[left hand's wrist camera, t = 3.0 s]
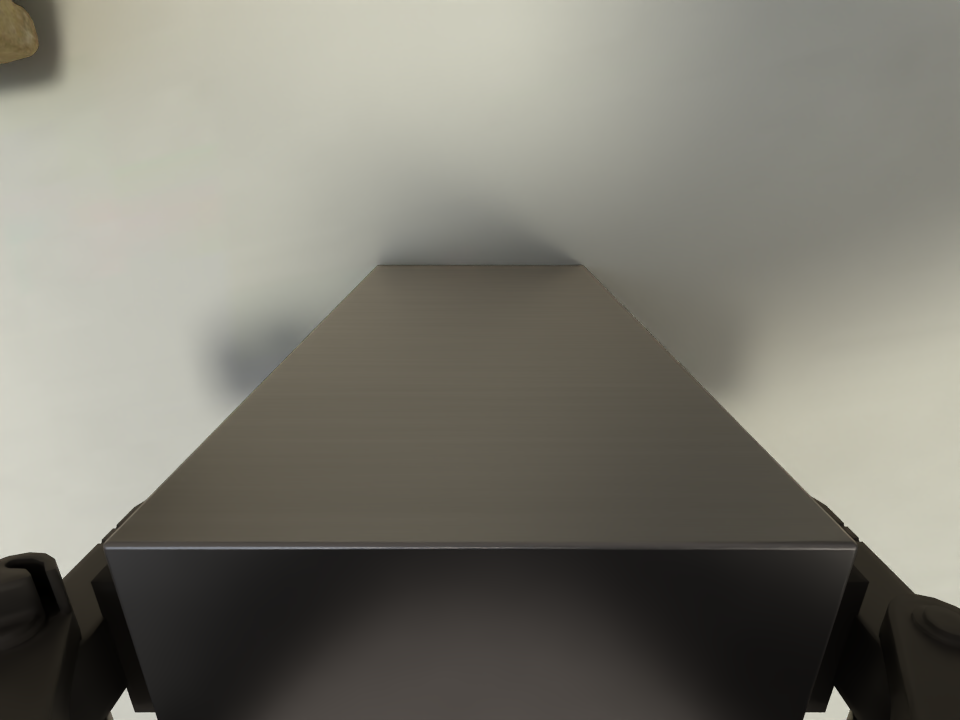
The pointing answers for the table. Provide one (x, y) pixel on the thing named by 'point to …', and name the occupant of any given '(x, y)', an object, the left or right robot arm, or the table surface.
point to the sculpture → (16, 33)
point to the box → (480, 526)
